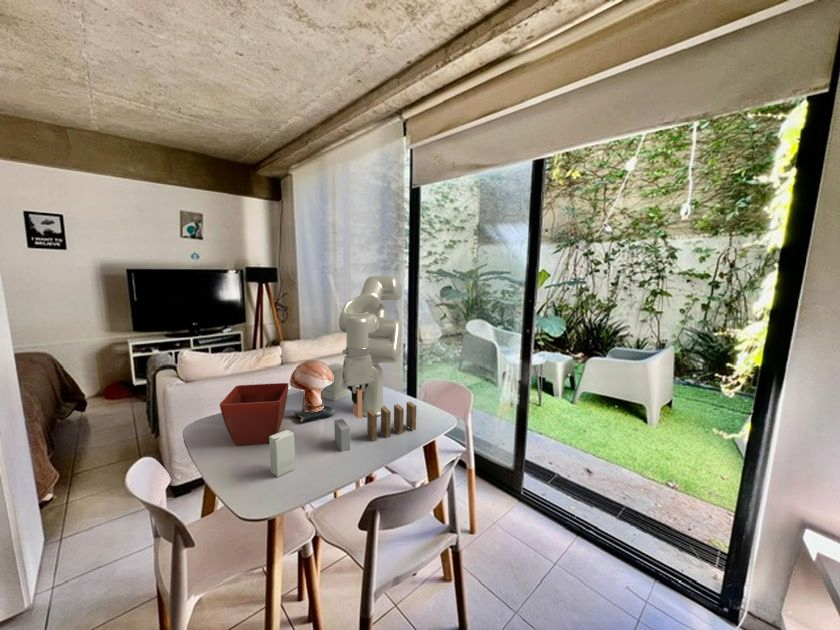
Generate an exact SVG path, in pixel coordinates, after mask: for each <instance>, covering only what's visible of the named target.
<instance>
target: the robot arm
mask: <svg viewBox="0 0 840 630" xmlns="http://www.w3.org/2000/svg"><path fill="white" fill-rule="evenodd" d="M402 294H403V288H402V285H401V283H400V281H399V279H398V278H396V277H395V276H393V275H392V276H391V275H371V276H368V277H367V278H366V280H365V281H364V284H363V287H362V290H361V292H360V295H358V296H356V297H354V298H353V299H350V300H349V301H347V302H346V303H345V304H344V305H343V307H342V310H341V313H340V315H339V318H338V328H339V330H340V331H341V332H342V333H345V334H346V338H345V339H346V347H345V349H342V354H343V355H344V357H343V363H342V365H343V372H342V380H343V381H342V385H341V387H342V388H345V389H348V391H351V401H352V403H353V402H354V403H355V404H357V393H356V386H358V387H359V388H360V389H361V390H362V417H367V410H371V409H372V410H373V411H374V412H375V413H376V414H377V417H378V416H379V417H380V416H381V407H386V405H384V397H383V396H384V372H383V368H382V367H381V365H380V364H382V363H383V364H395V363H397V362H398V361H399V359H400V356H401V355H400V354H401V345H402V336H403V335H402V333H403V332H402V331H403V327H402V324H401V322H400V321H399V320H398V319H395V318H393V319H392V318H387V316H388V311H387V308H386V307H385V306H384V305H383V303H382V301H399V300H400V299H401V297H402ZM386 408H387V407H386Z"/></svg>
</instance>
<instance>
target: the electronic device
mask: <svg viewBox="0 0 840 630" xmlns="http://www.w3.org/2000/svg"><path fill="white" fill-rule="evenodd" d="M323 406H324V408H323V409H322V410H321V411H318V412H313V413H310V412H305V411H304V410H301V411H294V417H295V418H297V417H298V418H302V422H301V420H299V422H301V424H304V423H310V422H312V421H317V420H321V419H322V420H323V419H329V418H330V417H332V416H333V415H334V414H335V410H334V408H333V407H332V406H326V405H323ZM298 418H297V419H298Z"/></svg>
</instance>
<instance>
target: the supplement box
mask: <svg viewBox="0 0 840 630" xmlns="http://www.w3.org/2000/svg"><path fill="white" fill-rule="evenodd" d="M327 366H328V367H329V369H330V370H331V371H332V373H333V375H334V382H333V383H332V384H331V385H329V386H327V387H325V388H324V389H323V390H322V389H321V390H322V393H321V394H322V398H324V399H327V400H330V401H333V402H336V401H339V400H341V399H344V398H347V397H348V396H349V389H345V388H342V387H341V385H342V381H343V380H342V372H343V364H341V363H337V362H335V363H332V364H328V365H327Z"/></svg>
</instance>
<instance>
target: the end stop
mask: <svg viewBox="0 0 840 630" xmlns="http://www.w3.org/2000/svg"><path fill="white" fill-rule="evenodd" d="M333 423H334V442H335V444H336V445H338V446H337V447H338V449H339V450H340V452H341V453H342V452H346V451H349V450H351V437H350V436H351V428H350V426H349V425H348V423H347V422H346V421H345V420H344V419H343V418H339V419H334V422H333Z"/></svg>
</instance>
